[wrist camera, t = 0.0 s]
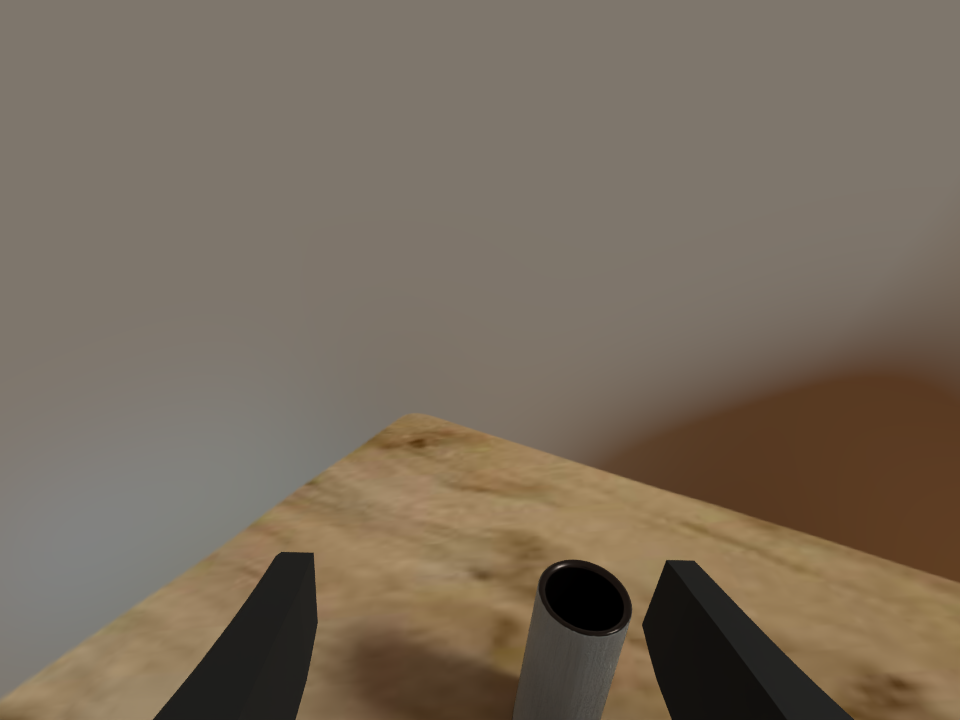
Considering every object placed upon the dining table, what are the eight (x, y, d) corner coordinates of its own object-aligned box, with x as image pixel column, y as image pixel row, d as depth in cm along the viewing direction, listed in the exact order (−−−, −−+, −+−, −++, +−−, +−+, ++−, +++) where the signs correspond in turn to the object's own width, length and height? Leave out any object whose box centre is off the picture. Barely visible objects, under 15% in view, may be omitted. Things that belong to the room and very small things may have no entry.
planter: (505, 759, 27) (532, 620, 23) (518, 679, 31) (543, 549, 27) (591, 786, 26) (635, 647, 22) (592, 700, 30) (630, 570, 26)
